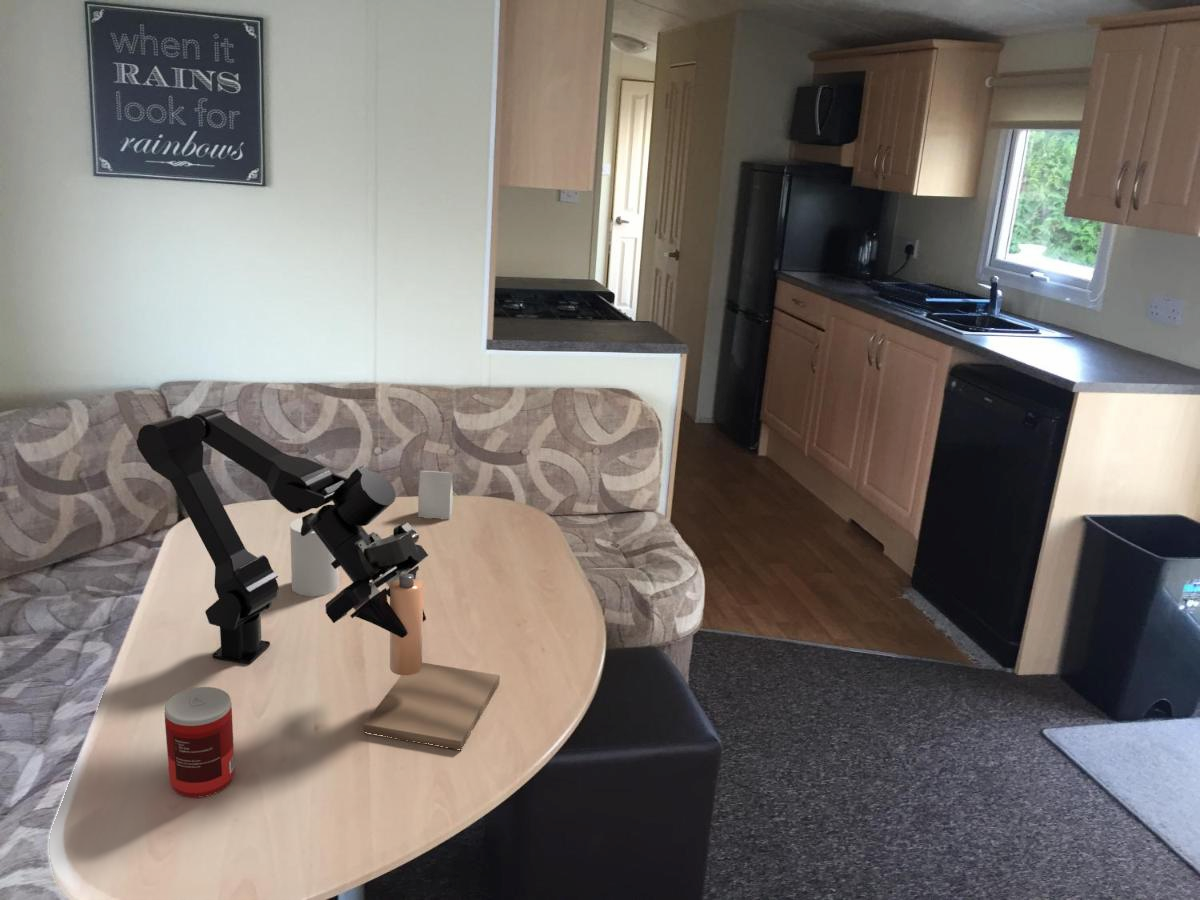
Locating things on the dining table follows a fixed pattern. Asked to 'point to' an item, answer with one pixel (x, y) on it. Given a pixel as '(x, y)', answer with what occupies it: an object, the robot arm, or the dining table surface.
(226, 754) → the canned food
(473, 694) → the cardboard sheet
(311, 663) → the dining table surface
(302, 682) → the dining table surface
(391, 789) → the dining table surface
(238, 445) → the robot arm
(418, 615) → the peach bottle with cap
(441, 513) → the light grey box
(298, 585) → the white cylinder
